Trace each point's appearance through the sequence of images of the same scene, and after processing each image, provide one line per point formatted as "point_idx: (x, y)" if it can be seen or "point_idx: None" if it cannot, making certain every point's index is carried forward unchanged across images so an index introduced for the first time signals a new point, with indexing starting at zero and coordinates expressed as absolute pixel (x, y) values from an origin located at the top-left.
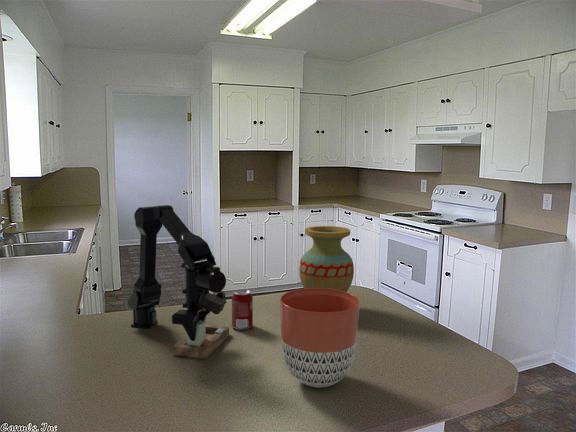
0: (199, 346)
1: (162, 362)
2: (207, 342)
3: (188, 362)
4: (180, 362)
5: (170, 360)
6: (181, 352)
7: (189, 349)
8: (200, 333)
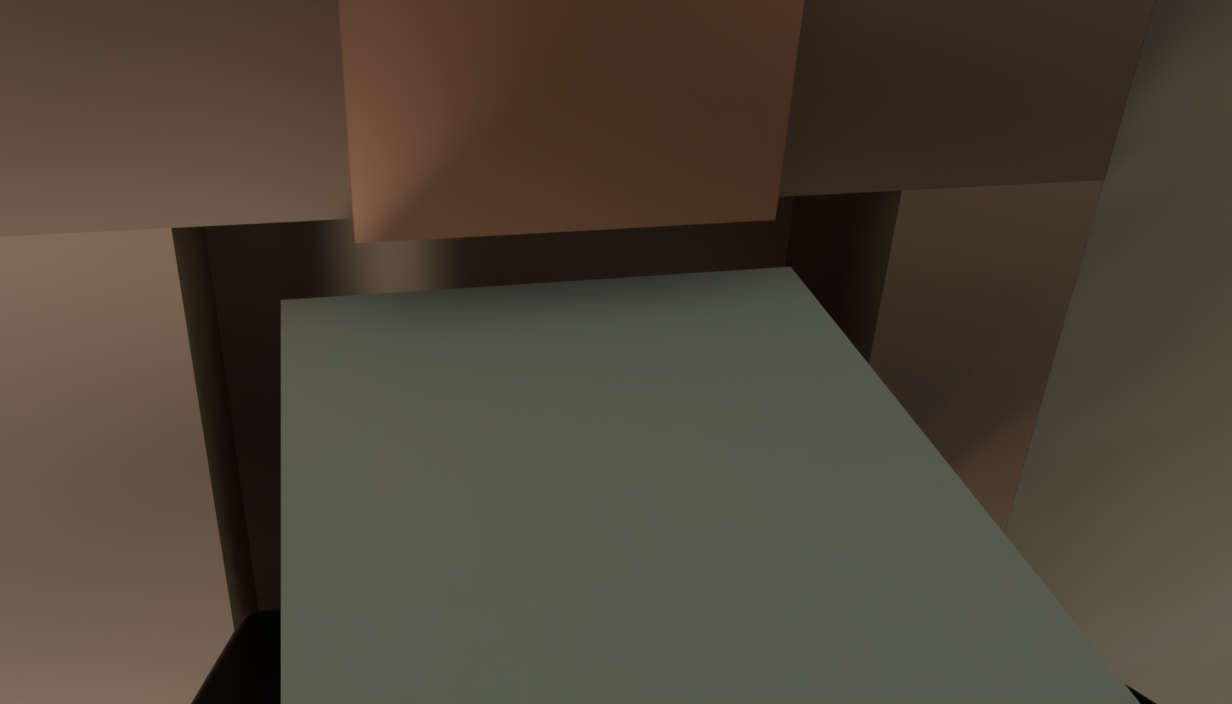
0: None
1: (1152, 631)
2: (629, 106)
3: (1187, 208)
4: (1174, 363)
5: (1078, 565)
6: None
7: (1006, 432)
8: (955, 560)
